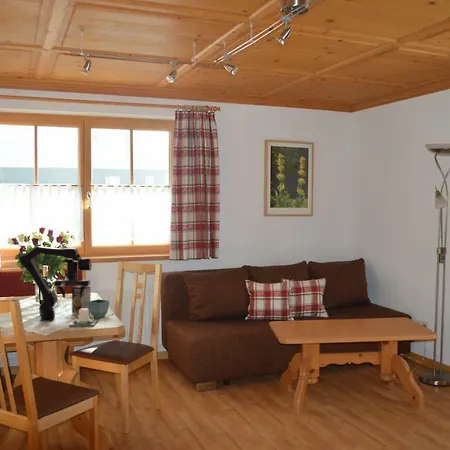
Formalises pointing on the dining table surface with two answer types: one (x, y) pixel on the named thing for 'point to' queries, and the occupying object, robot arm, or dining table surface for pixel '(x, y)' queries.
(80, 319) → the block on green base
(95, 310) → the flower pot
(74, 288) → the coffee box
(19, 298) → the dining table surface
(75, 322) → the chassis
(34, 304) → the dining table surface
